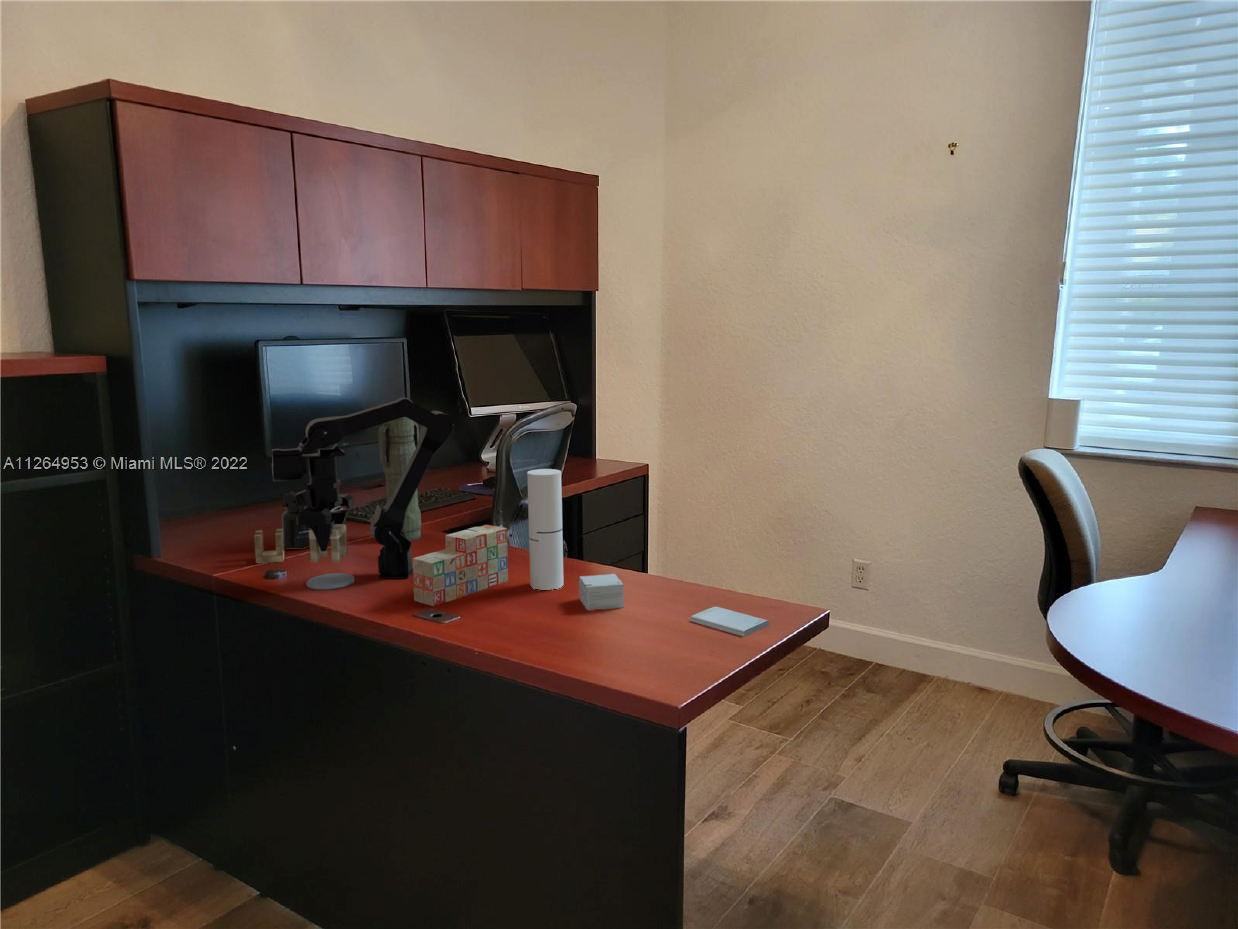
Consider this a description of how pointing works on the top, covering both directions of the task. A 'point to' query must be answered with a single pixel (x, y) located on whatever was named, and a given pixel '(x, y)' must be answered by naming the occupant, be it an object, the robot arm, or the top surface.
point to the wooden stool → (337, 544)
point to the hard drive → (729, 621)
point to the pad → (330, 581)
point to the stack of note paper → (601, 592)
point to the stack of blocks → (462, 565)
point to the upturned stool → (272, 554)
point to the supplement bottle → (294, 530)
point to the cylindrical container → (545, 529)
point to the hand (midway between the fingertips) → (328, 547)
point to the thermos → (400, 465)
